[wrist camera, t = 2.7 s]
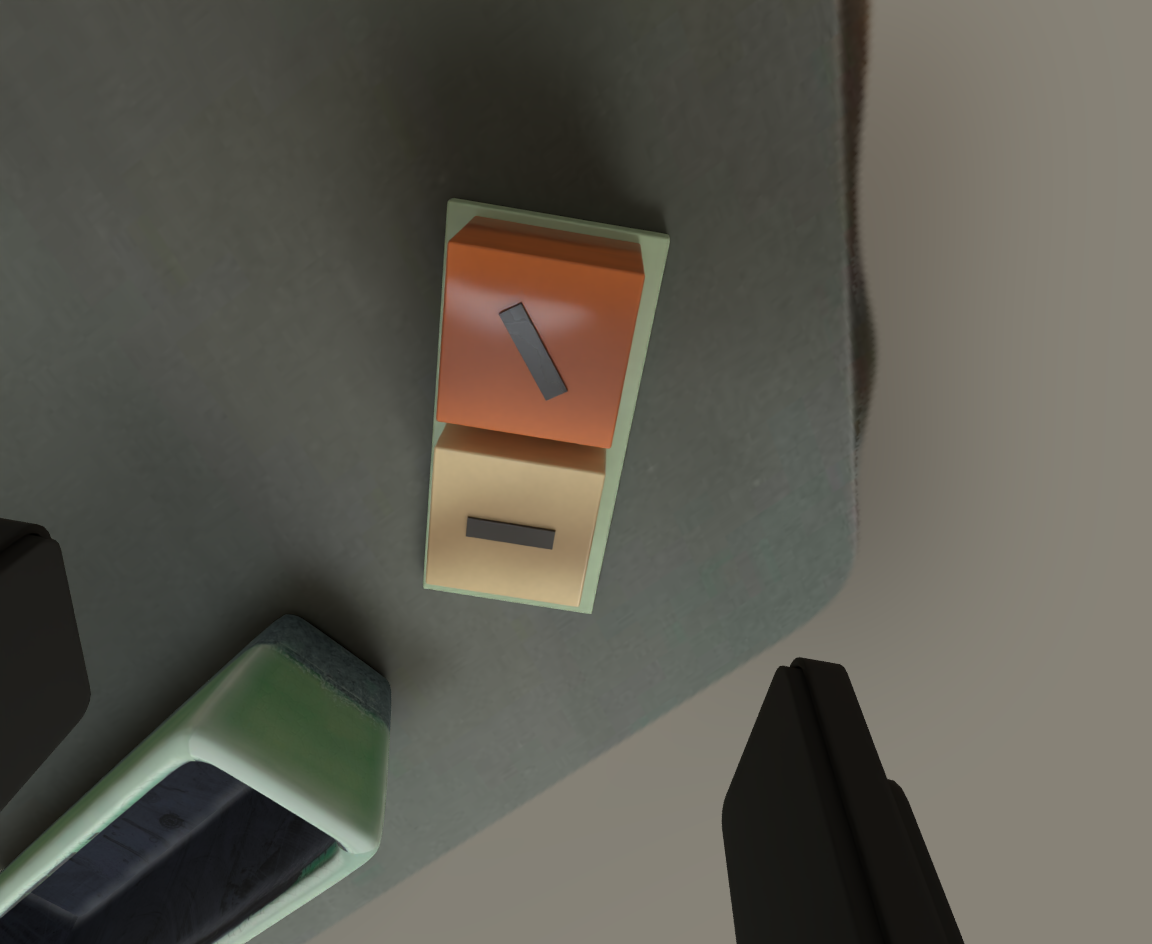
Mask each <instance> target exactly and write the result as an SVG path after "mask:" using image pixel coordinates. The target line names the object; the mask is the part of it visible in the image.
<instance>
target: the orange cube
mask: <svg viewBox="0 0 1152 944" xmlns="http://www.w3.org/2000/svg"><path fill="white" fill-rule="evenodd" d="M644 280H645V272H644V265H643V258H642V251H641V245H640V244H639V243H634V242H628V241H622V240H616V239H611V238H605V237H599V236H593V235H587V234H581V233H575V232H569V231H563V230H557V229H551V228H545V227H540V226H534V225H528V224H522V223H516V222H510V221H504V220H498V219H492V218H486V217H480V216H474V217H473V218H472V219H471V220H470V221H469V222H468V223H467V224H466V225H465V226H464V227H463V228H462V229H461V230H460V231H459V232H458V233H457V234H456V235H455V236H453V237H452V238H451V239H450V240H449V241H448V243H447V258H446V274H445V289H444V304H443V319H442V335H441V350H440V365H439V380H438V396H437V411H436V420H437V421H439V422H445V423H451V424H457V425H463V426H470V427H476V428H482V429H488V430H495V431H501V432H507V433H513V434H520V435H526V436H532V437H538V438H544V439H551V440H557V441H563V442H569V443H576V444H582V445H588V446H594V447H601V448H607V449H610V448H611V446H612V441H613V436H614V431H615V426H616V421H617V416H618V411H619V406H620V401H621V396H622V391H623V386H624V380H625V375H626V370H627V365H628V360H629V355H630V350H631V345H632V340H633V335H634V330H635V325H636V320H637V315H638V310H639V305H640V300H641V295H642V290H643V285H644Z"/></svg>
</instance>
